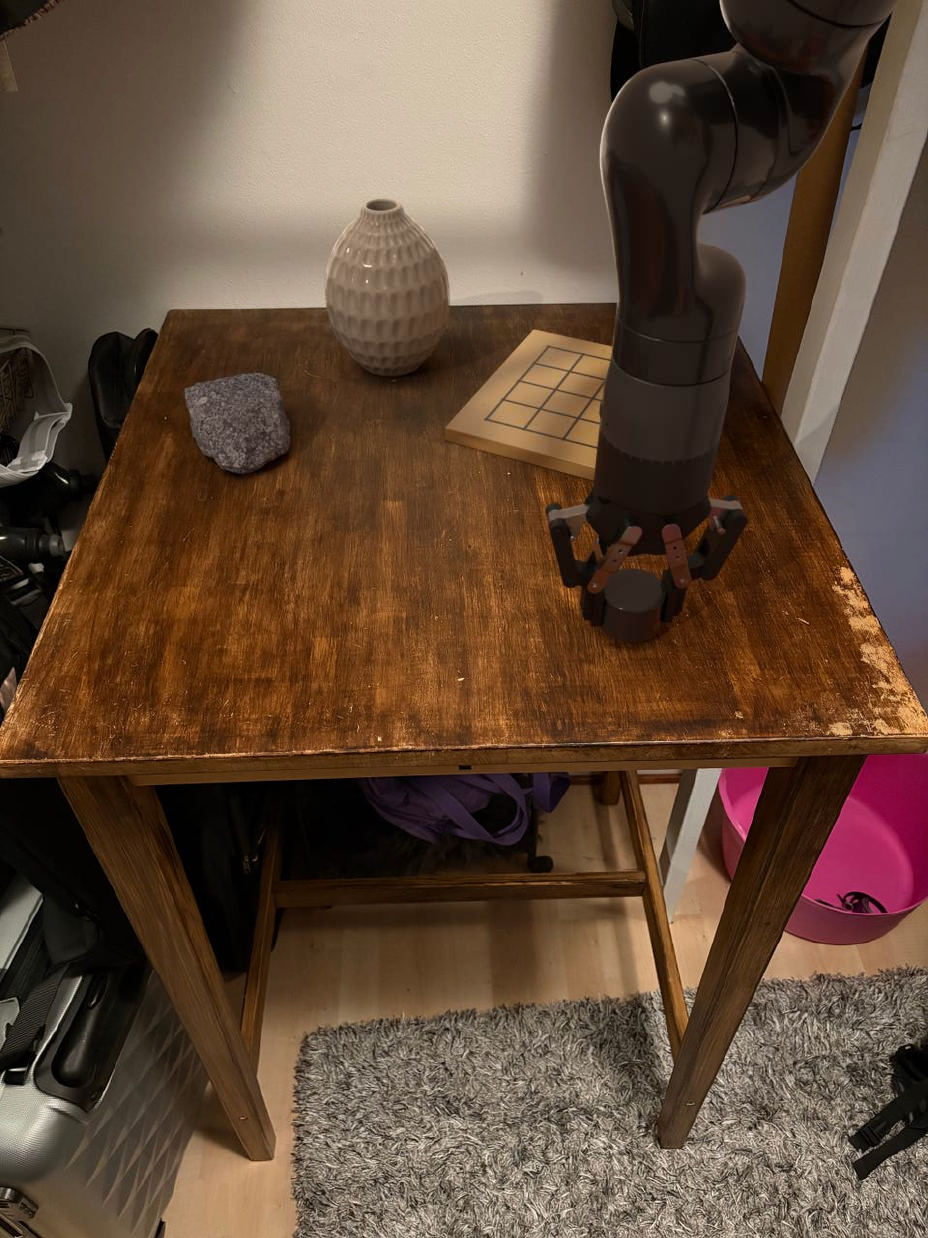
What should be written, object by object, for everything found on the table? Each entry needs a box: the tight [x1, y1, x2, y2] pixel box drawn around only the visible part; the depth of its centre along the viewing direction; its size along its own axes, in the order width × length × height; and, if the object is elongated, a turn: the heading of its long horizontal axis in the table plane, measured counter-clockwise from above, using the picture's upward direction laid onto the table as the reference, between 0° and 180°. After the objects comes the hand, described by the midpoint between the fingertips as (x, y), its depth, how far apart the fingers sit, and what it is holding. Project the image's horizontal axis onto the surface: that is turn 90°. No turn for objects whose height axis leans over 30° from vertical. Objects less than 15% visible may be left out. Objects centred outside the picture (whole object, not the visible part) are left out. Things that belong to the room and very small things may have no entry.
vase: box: [324, 197, 451, 378], centre depth 93 cm, size 13×13×17 cm
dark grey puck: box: [599, 567, 666, 644], centre depth 68 cm, size 5×5×3 cm
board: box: [444, 329, 612, 482], centre depth 91 cm, size 22×22×2 cm
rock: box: [184, 372, 291, 475], centre depth 87 cm, size 12×5×10 cm
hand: (629, 616), depth 69 cm, fingers closed on dark grey puck, 4 cm apart
